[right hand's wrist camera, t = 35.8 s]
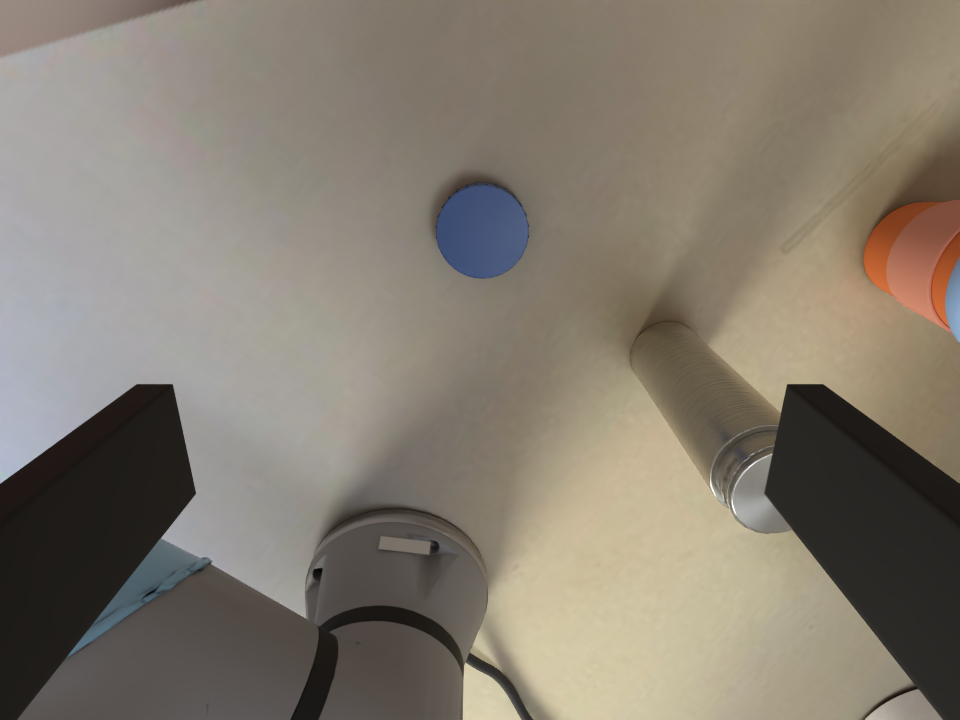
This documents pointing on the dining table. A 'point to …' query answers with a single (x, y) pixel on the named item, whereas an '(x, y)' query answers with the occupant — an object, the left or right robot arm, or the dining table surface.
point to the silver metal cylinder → (713, 419)
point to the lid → (482, 230)
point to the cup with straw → (920, 260)
